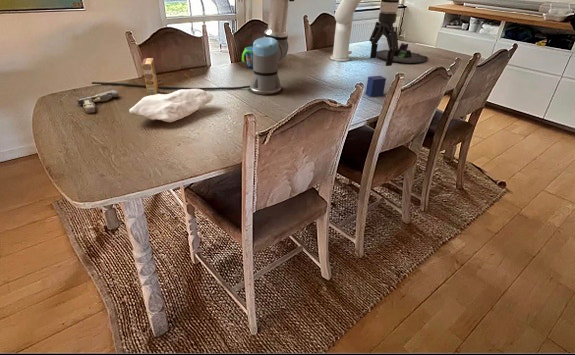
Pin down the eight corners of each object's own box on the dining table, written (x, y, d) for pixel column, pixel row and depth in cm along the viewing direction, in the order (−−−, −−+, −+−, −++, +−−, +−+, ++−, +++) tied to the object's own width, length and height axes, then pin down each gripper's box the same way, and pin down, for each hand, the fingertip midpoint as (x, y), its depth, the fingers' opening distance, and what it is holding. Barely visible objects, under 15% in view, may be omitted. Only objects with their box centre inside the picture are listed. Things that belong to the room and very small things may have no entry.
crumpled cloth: (117, 110, 146) (113, 90, 140) (195, 92, 166) (194, 73, 160) (143, 139, 134) (140, 118, 128) (223, 116, 154) (224, 96, 148)
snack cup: (261, 62, 218) (261, 45, 213) (270, 67, 211) (270, 49, 205) (237, 65, 211) (237, 47, 205) (246, 70, 203) (246, 51, 198)
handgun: (128, 97, 156) (111, 87, 164) (86, 107, 144) (70, 97, 152) (129, 103, 157) (113, 94, 165) (88, 114, 146) (72, 103, 154)
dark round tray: (438, 59, 239) (441, 44, 234) (403, 65, 221) (405, 50, 217) (397, 50, 264) (399, 37, 259) (362, 56, 246) (363, 42, 242)
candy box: (157, 97, 164) (152, 63, 155) (147, 98, 163) (141, 63, 155) (158, 91, 171) (153, 57, 163) (149, 91, 170) (143, 58, 162)
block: (383, 95, 177) (386, 78, 173) (370, 96, 175) (373, 79, 171) (377, 92, 181) (380, 75, 177) (365, 93, 179) (368, 76, 175)
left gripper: (413, 16, 150) (403, 68, 161) (380, 8, 169) (373, 54, 181) (397, 17, 147) (388, 69, 159) (366, 8, 167) (360, 55, 178)
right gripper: (301, -31, 209) (299, 2, 218) (290, -33, 222) (289, -2, 231) (288, -31, 206) (287, 2, 215) (279, -33, 220) (278, -2, 229)
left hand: (380, 61), depth 170 cm, fingers open, 13 cm apart
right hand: (288, 0), depth 223 cm, fingers open, 9 cm apart
